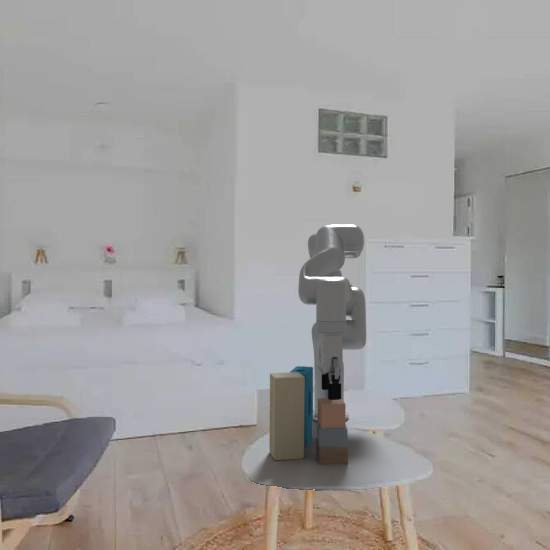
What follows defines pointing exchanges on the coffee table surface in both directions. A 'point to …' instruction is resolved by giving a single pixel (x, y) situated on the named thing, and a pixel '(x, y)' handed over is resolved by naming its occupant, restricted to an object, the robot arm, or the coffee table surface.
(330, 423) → the terracotta cube
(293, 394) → the cream box
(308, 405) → the block
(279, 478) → the coffee table surface
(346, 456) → the tower bottom
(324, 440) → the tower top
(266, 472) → the coffee table surface
